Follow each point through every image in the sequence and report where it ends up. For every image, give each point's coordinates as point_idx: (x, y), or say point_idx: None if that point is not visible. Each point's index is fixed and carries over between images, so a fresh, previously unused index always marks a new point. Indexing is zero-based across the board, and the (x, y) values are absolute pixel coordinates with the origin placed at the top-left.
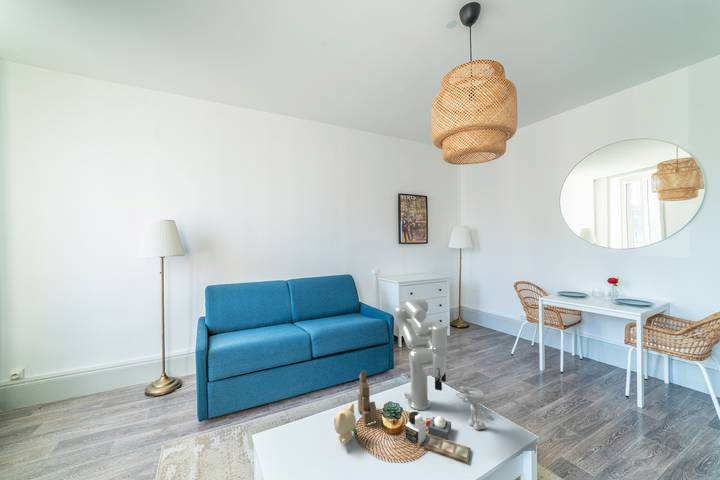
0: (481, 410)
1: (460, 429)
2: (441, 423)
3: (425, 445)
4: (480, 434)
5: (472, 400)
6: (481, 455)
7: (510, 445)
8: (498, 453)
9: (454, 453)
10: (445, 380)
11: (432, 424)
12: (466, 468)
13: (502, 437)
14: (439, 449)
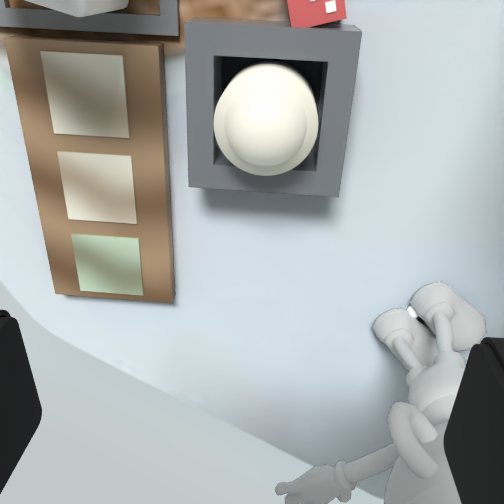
0: (365, 472)
1: (352, 232)
2: (224, 146)
3: (44, 26)
4: (344, 335)
5: (386, 490)
6: (168, 338)
7: (308, 442)
8: (224, 399)
9: (72, 229)
10: (455, 467)
11: (236, 50)
12: (33, 281)
13: (359, 420)
14: (47, 140)
